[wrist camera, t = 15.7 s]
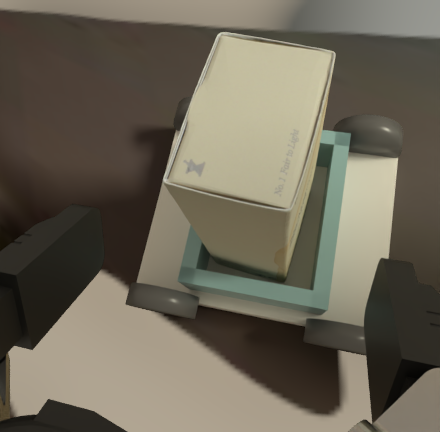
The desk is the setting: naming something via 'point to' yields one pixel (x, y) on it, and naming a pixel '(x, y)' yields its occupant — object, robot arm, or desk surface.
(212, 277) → the toy car chassis
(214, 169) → the skincare box
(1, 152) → the desk surface
